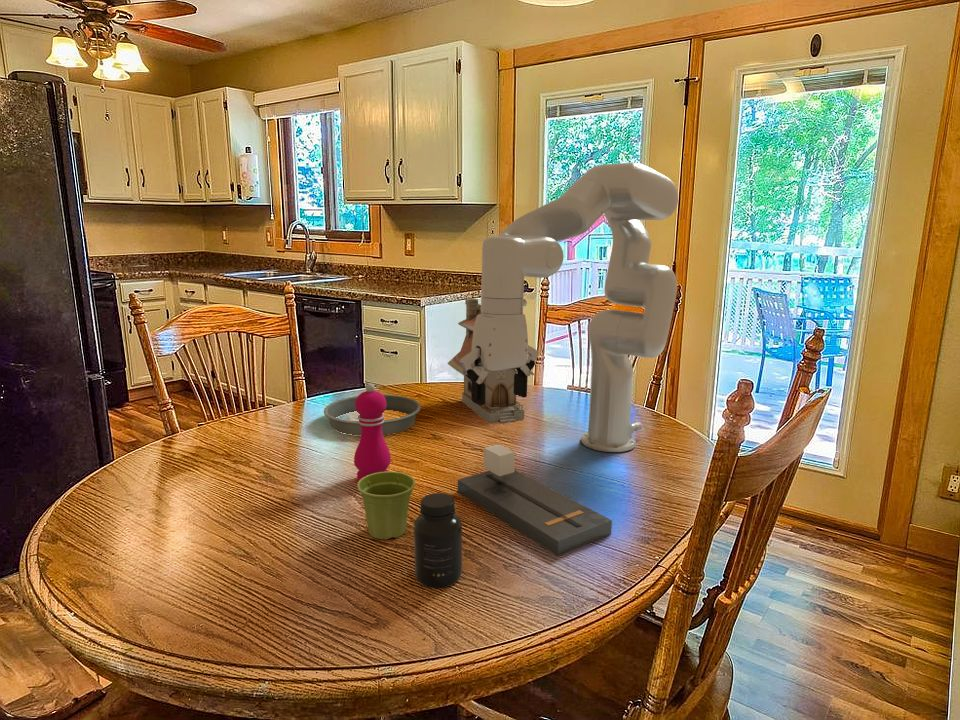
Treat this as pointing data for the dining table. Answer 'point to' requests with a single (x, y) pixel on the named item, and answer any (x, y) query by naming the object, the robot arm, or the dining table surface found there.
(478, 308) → the miniature house
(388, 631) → the dining table surface
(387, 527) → the plant pot
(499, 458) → the fader knob
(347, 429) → the cake pan
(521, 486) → the fader console
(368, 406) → the pepper mill
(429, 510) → the supplement bottle
